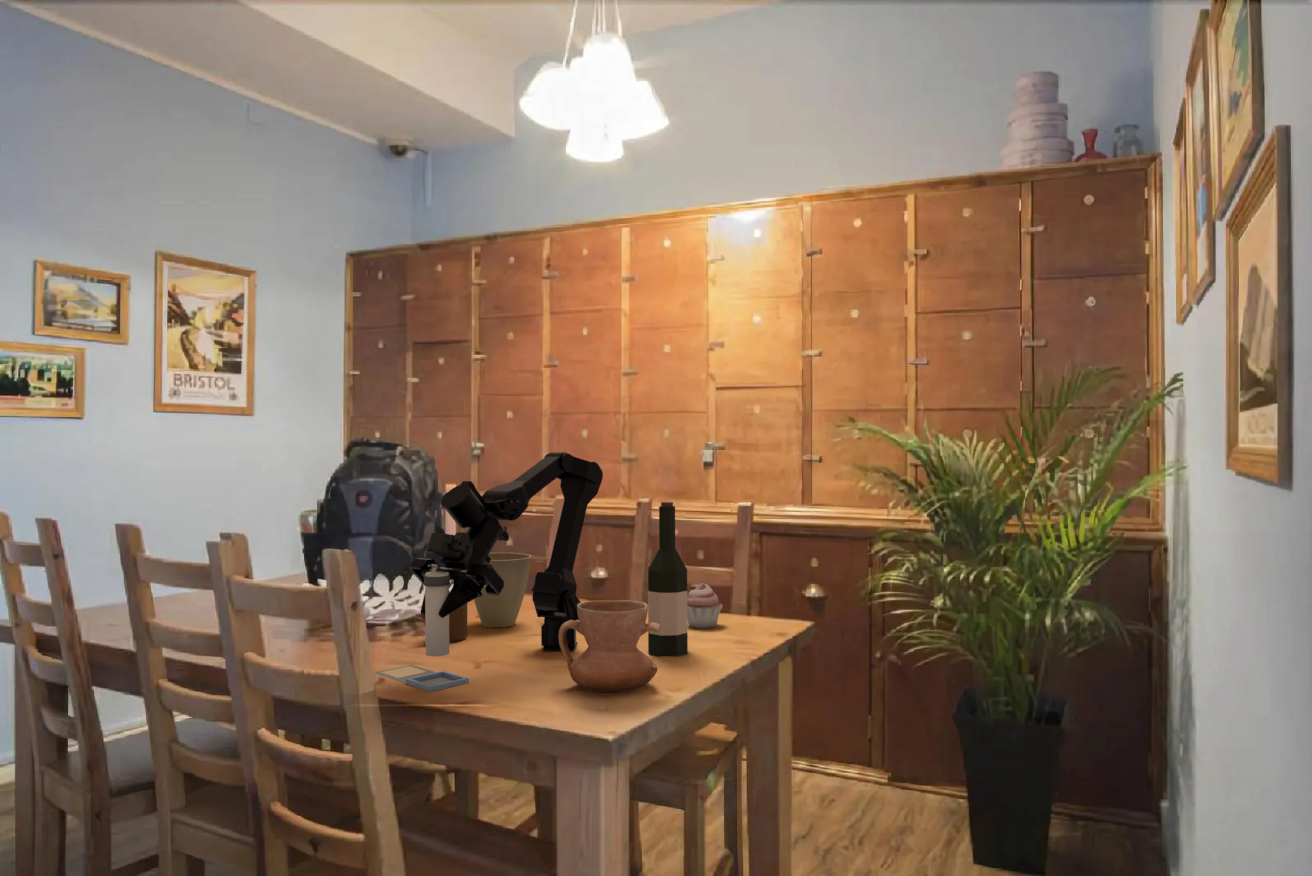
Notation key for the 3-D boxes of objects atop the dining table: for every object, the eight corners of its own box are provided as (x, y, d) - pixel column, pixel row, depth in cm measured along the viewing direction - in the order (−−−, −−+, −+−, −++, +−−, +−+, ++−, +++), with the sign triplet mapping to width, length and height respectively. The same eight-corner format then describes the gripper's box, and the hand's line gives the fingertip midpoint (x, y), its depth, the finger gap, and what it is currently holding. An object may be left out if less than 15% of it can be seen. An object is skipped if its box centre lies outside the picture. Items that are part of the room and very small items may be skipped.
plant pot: (481, 634, 199) (481, 561, 199) (456, 623, 211) (456, 555, 211) (542, 626, 207) (542, 556, 207) (515, 616, 219) (515, 550, 219)
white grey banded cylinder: (449, 649, 159) (448, 570, 159) (451, 655, 155) (451, 574, 155) (423, 651, 158) (423, 571, 158) (425, 657, 154) (424, 575, 154)
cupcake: (678, 629, 203) (678, 585, 203) (686, 621, 212) (686, 578, 212) (719, 631, 201) (719, 586, 201) (726, 623, 210) (725, 580, 210)
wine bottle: (640, 655, 178) (640, 503, 178) (655, 646, 186) (654, 500, 186) (680, 658, 175) (680, 503, 175) (694, 649, 183) (693, 501, 183)
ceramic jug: (670, 679, 159) (669, 599, 160) (650, 702, 145) (649, 613, 146) (573, 673, 164) (573, 595, 164) (545, 695, 150) (544, 609, 150)
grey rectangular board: (372, 674, 164) (372, 668, 164) (411, 666, 170) (411, 660, 170) (430, 693, 151) (430, 687, 151) (470, 684, 157) (470, 678, 157)
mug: (435, 648, 185) (435, 602, 185) (408, 644, 189) (408, 599, 189) (474, 637, 195) (474, 593, 195) (448, 634, 199) (448, 591, 199)
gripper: (416, 513, 165) (368, 582, 156) (492, 517, 155) (445, 591, 146) (448, 552, 172) (403, 620, 162) (523, 558, 162) (480, 631, 152)
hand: (431, 615), depth 155 cm, fingers closed on white grey banded cylinder, 4 cm apart
